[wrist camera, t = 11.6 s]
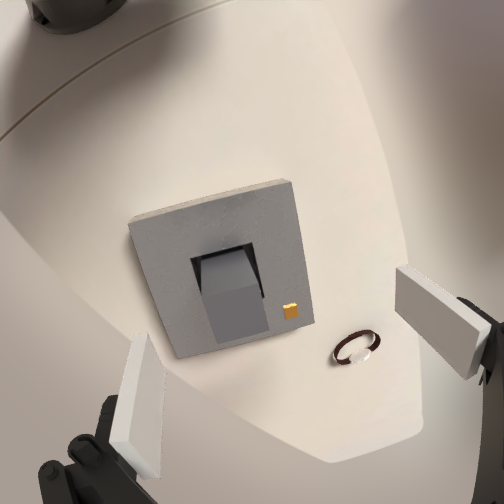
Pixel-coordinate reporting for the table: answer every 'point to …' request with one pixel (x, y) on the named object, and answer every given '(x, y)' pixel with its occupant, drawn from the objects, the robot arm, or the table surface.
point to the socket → (219, 238)
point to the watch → (360, 354)
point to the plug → (231, 295)
